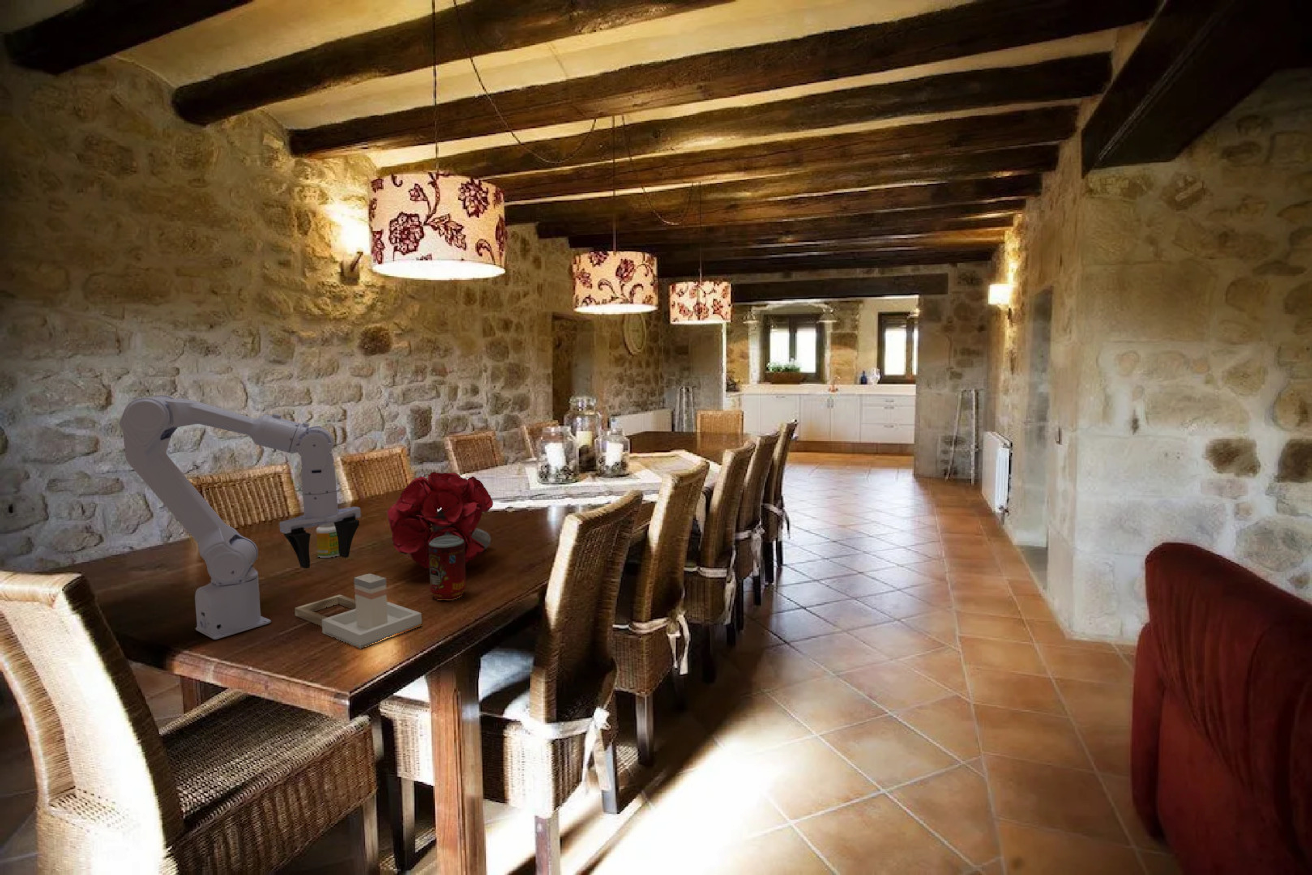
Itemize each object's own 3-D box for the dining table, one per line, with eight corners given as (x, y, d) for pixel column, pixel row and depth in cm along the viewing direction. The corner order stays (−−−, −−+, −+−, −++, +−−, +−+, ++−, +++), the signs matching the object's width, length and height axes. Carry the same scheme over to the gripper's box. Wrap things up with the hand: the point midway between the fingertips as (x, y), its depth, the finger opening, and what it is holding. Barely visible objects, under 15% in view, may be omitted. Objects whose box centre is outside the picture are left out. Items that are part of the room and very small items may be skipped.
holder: (326, 628, 120) (325, 620, 120) (295, 615, 126) (294, 607, 126) (371, 613, 127) (371, 605, 127) (340, 601, 133) (339, 594, 133)
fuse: (372, 632, 117) (370, 582, 116) (356, 625, 119) (353, 577, 119) (388, 626, 119) (386, 578, 118) (371, 620, 122) (369, 573, 121)
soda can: (422, 599, 135) (420, 540, 133) (446, 588, 141) (445, 532, 140) (450, 604, 132) (448, 544, 131) (473, 593, 138) (471, 536, 137)
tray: (360, 649, 111) (360, 635, 111) (322, 632, 118) (321, 619, 117) (421, 626, 121) (421, 613, 121) (383, 612, 128) (382, 599, 127)
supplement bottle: (331, 559, 163) (329, 520, 162) (312, 558, 164) (310, 519, 163) (346, 553, 168) (344, 515, 167) (327, 552, 169) (325, 514, 168)
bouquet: (431, 576, 171) (356, 546, 144) (460, 490, 179) (394, 447, 153) (503, 591, 164) (438, 562, 137) (530, 501, 172) (474, 458, 146)
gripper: (291, 500, 116) (297, 575, 117) (367, 487, 127) (372, 555, 129) (271, 496, 120) (277, 569, 121) (347, 483, 131) (352, 550, 133)
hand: (325, 561), depth 125 cm, fingers open, 7 cm apart
